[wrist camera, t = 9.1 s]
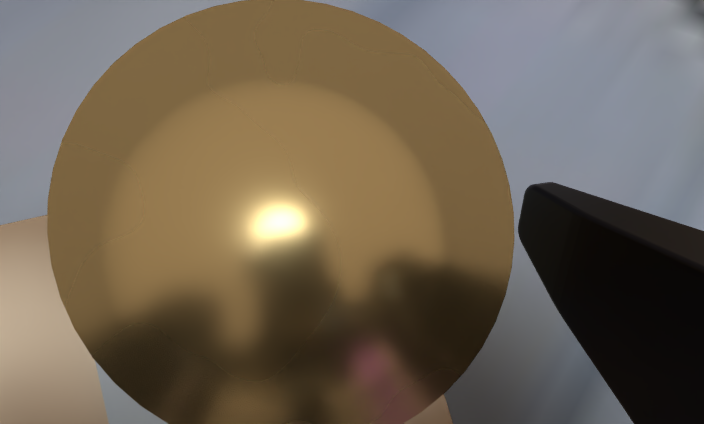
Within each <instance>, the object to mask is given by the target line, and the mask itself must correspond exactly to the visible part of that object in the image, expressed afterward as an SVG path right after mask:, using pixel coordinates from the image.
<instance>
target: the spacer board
mask: <svg viewBox="0 0 704 424" xmlns="http://www.w3.org/2000/svg"><path fill="white" fill-rule="evenodd" d="M47 217H48V215H45V216H40V217H36V218H31V219H27V220H22V221H18V222H13V223H9V224H4V225H0V424H109V422H108V417H107V413H106V408H105V404H104V399H103V395H102V390H101V385H100V381H99V376H98V372H97V367H96V363H95V360H94V359H93V357H92V356H91V354H90V353H89V351H88V350H87V348H86V346H85V345H84V343H83V342H82V340H81V339H80V337H79V335H78V334H77V332H76V331H75V329H74V327H73V325H72V323H71V320H70V318H69V316H68V314H67V311H66V309H65V307H64V305H63V302H62V300H61V298H60V295H59V291H58V287H57V284H56V280H55V277H54V273H53V270H52V266H51V259H50V251H49V243H48V235H47ZM403 424H453V422H452V419H451V416H450V412H449V409H448V406H447V403H446V400H445V396H444V394H443V395H442V396H441V397H439V398H438V399H437V400H436V401H434V402H433V403H432V404H431V405H430V406H428V407H427V408H426V409H425V410H423V411H422V412H421V413H419V414H418V415H416V416H414V417H413V418H411V419H410V420H408V421H406V422H405V423H403Z"/></svg>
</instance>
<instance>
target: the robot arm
mask: <svg viewBox="0 0 704 424" xmlns="http://www.w3.org/2000/svg"><path fill="white" fill-rule="evenodd" d="M518 233H519V237H520V240H521V242H522V244H523V246H524V248H525V250H526V252H527V254H528V256H529V258H530V259H531V261H532V263H533V265H534V267H535V269H536V271H537V273H538V275H539V276H540V278H541V280H542V282H543V284H544V286H545V288H546V290H547V292H548V293H549V295H550V297H551V299H552V301H553V303H554V304H555V306H556V308H557V310H558V311H559V313H560V314H561V316H562V318H563V319H564V321H565V322H566V324H567V325H568V327H569V328H570V330H571V331H572V333H573V334H574V336H575V337H576V339H577V340H578V341H579V343H580V344H581V346H582V347H583V349H584V350H585V352H586V353H587V355H588V356H589V358H590V359H591V361H592V362H593V364H594V365H595V367H596V368H597V370H598V371H599V373H600V374H601V375H602V377H603V378H604V380H605V381H606V383H607V384H608V386H609V387H610V389H611V390H612V392H613V393H614V395H615V396H616V398H617V399H618V401H619V402H620V404H621V405H622V407H623V408H624V410H625V411H626V412H627V414H628V415H629V417H630V418H631V420H632V421H633V423H634V424H704V231H702V230H698V229H695V228H692V227H689V226H686V225H683V224H680V223H677V222H674V221H671V220H668V219H665V218H661V217H658V216H655V215H652V214H649V213H646V212H643V211H640V210H637V209H634V208H631V207H628V206H624V205H621V204H618V203H615V202H612V201H609V200H606V199H603V198H600V197H597V196H594V195H591V194H587V193H584V192H581V191H578V190H575V189H572V188H569V187H566V186H563V185H560V184H557V183H553V182H547V183H540V184H533V185H530V186H529V187H528V188H527V189H526V191H525V194H524V199H523V204H522V209H521V214H520V219H519V225H518Z"/></svg>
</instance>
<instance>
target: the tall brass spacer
mask: <svg viewBox="0 0 704 424" xmlns="http://www.w3.org/2000/svg"><path fill="white" fill-rule="evenodd" d="M47 235H48V243H49V251H50V259H51V266H52V270H53V273H54V277H55V280H56V284H57V287H58V291H59V295H60V298H61V300H62V302H63V305H64V307H65V309H66V311H67V314H68V316H69V318H70V320H71V323H72V325H73V327H74V329H75V331H76V332H77V334H78V335H79V337H80V339H81V340H82V342H83V343H84V345H85V346H86V348H87V350H88V351H89V353H90V354H91V356H92V357H93V359H94V360H95V361H96V362H97V363H98V364H99V366H100V367H101V368H102V369H103V370H104V371H105V373H106V374H107V375H108V376H109V377H110V378H111V380H112V381H113V382H114V383H115V384H116V385H117V386H118V387H120V388H121V389H122V390H123V391H124V392H125V393H126V394H128V395H129V396H130V397H131V398H132V399H133V400H134V401H136V402H137V403H138V404H139V405H140V406H141V407H143V408H145V409H146V410H148V411H149V412H151V413H152V414H154V415H155V416H157V417H159V418H160V419H162V420H163V421H165V422H166V423H168V424H403V423H405V422H406V421H408V420H410V419H411V418H413V417H414V416H416V415H418V414H419V413H421V412H422V411H423V410H425V409H426V408H427V407H428V406H430V405H431V404H432V403H433V402H434V401H436V400H437V399H438V398H439V397H441V396H442V395H443V394H444V393H445V392H446V391H447V390H448V389H449V388H450V387H451V386H452V385H453V384H454V383H455V382H456V381H457V379H458V378H459V377H460V376H461V375H462V374H463V373H464V372H465V371H466V369H467V368H468V367H469V365H470V364H471V362H472V361H473V359H474V358H475V357H476V355H477V354H478V352H479V351H480V350H481V348H482V347H483V345H484V343H485V341H486V339H487V337H488V335H489V333H490V331H491V329H492V327H493V326H494V324H495V322H496V319H497V316H498V314H499V311H500V308H501V306H502V303H503V300H504V297H505V294H506V290H507V286H508V281H509V277H510V272H511V268H512V258H513V248H514V212H513V206H512V199H511V193H510V186H509V182H508V178H507V175H506V171H505V168H504V164H503V160H502V158H501V155H500V153H499V150H498V148H497V145H496V143H495V141H494V138H493V136H492V133H491V132H490V130H489V128H488V126H487V124H486V123H485V121H484V119H483V117H482V115H481V114H480V112H479V110H478V109H477V107H476V106H475V104H474V103H473V102H472V100H471V99H470V98H469V96H468V95H467V93H466V92H465V91H464V89H463V88H462V87H461V86H460V85H459V83H458V82H457V81H456V80H455V79H454V78H453V77H452V76H451V75H450V73H449V72H448V71H447V70H446V69H445V68H444V67H443V66H442V65H441V64H439V63H438V62H437V61H436V60H435V59H434V58H433V57H431V56H430V55H429V54H428V53H427V52H426V51H425V50H423V49H422V48H420V47H419V46H418V45H416V44H415V43H413V42H412V41H410V40H409V39H407V38H406V37H405V36H403V35H402V34H400V33H398V32H396V31H394V30H392V29H391V28H389V27H387V26H385V25H383V24H381V23H380V22H378V21H375V20H373V19H370V18H368V17H365V16H363V15H360V14H358V13H355V12H353V11H349V10H346V9H342V8H339V7H335V6H331V5H328V4H323V3H316V2H310V1H304V0H245V1H238V2H233V3H228V4H223V5H218V6H214V7H211V8H208V9H205V10H202V11H199V12H196V13H193V14H190V15H187V16H185V17H183V18H180V19H178V20H176V21H174V22H172V23H170V24H168V25H166V26H164V27H162V28H160V29H158V30H157V31H155V32H154V33H152V34H151V35H149V36H147V37H146V38H144V39H143V40H141V41H140V42H138V43H137V44H135V45H134V46H133V47H132V48H131V49H129V50H128V51H127V52H126V53H125V54H124V55H122V56H121V57H120V58H119V59H118V60H117V61H115V62H114V63H113V64H112V65H111V66H110V68H109V69H108V70H107V71H106V72H105V73H104V74H103V75H102V76H101V78H100V79H99V80H98V81H97V82H96V83H95V84H94V85H93V87H92V88H91V90H90V91H89V93H88V94H87V96H86V97H85V99H84V100H83V102H82V103H81V105H80V106H79V108H78V109H77V111H76V112H75V115H74V117H73V119H72V121H71V123H70V125H69V127H68V129H67V131H66V133H65V135H64V137H63V139H62V143H61V146H60V149H59V152H58V155H57V158H56V161H55V164H54V168H53V172H52V178H51V184H50V190H49V196H48V217H47Z"/></svg>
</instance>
